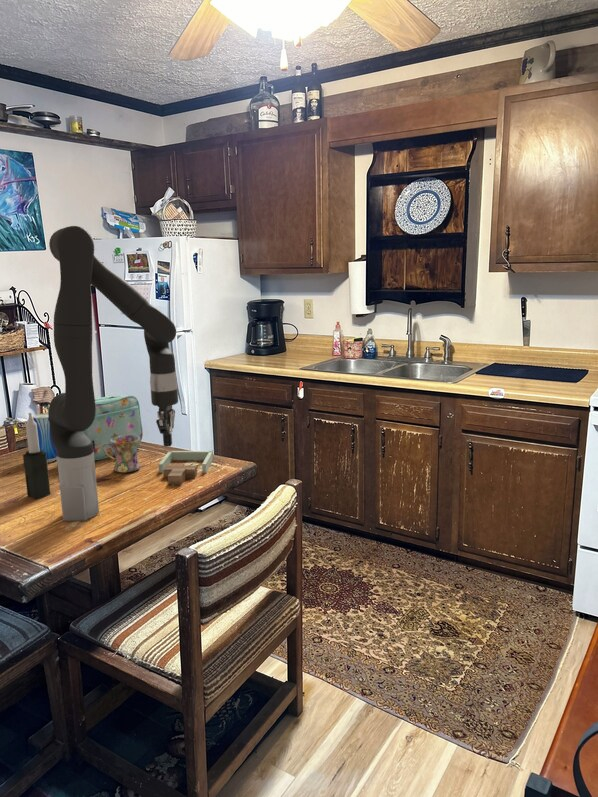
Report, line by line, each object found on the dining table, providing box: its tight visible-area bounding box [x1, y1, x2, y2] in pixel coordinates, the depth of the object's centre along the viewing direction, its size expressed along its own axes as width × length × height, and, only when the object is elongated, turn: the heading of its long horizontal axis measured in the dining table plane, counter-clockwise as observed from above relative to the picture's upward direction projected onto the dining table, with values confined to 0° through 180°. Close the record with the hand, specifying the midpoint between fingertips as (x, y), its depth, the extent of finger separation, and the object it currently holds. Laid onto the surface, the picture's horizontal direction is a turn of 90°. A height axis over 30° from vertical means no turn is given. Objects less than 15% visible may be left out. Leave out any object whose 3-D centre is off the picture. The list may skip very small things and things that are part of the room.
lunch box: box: [85, 394, 144, 461], centre depth 210 cm, size 27×10×21 cm, turn 147°
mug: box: [102, 435, 141, 473], centre depth 193 cm, size 12×9×11 cm
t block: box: [162, 464, 198, 486], centre depth 185 cm, size 10×10×3 cm
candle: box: [22, 412, 51, 500], centre depth 171 cm, size 5×5×25 cm
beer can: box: [32, 412, 57, 463], centre depth 204 cm, size 8×8×16 cm
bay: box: [158, 450, 214, 474], centre depth 198 cm, size 14×15×3 cm
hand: (168, 445), depth 172 cm, fingers closed
